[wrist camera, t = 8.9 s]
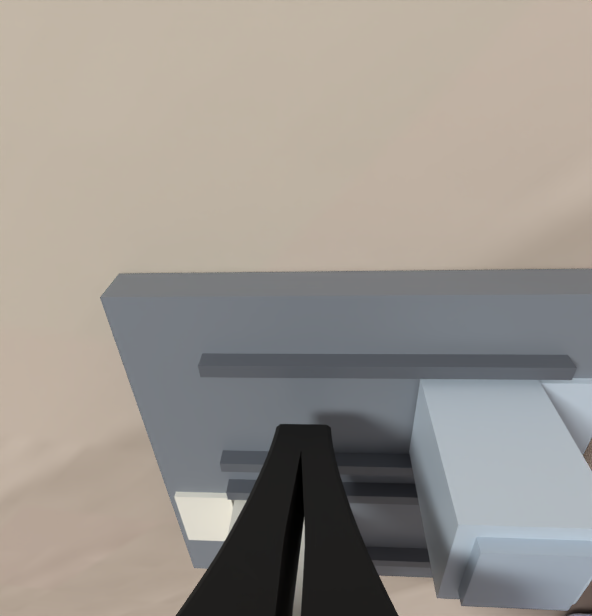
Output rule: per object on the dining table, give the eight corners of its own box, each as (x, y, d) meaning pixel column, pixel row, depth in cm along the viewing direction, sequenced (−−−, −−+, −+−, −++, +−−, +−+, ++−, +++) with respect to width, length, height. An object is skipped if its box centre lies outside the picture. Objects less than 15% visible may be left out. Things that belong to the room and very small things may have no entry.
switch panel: (505, 550, 18) (520, 594, 17) (200, 539, 19) (191, 580, 18) (625, 268, 11) (670, 305, 9) (118, 273, 12) (91, 308, 10)
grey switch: (511, 453, 13) (581, 619, 9) (409, 451, 13) (439, 613, 10) (537, 379, 11) (635, 546, 8) (420, 378, 12) (462, 540, 8)
